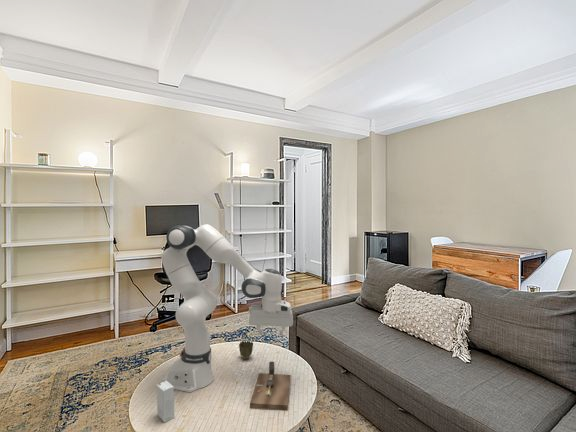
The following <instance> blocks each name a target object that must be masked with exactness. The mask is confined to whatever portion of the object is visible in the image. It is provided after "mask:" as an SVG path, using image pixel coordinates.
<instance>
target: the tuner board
mask: <svg viewBox="0 0 576 432" xmlns="http://www.w3.org/2000/svg"><path fill="white" fill-rule="evenodd" d="M291 375H292V374H281V373H274V374H273V378H272V380H273V387H272V388H270V394H269V395H268V387H267V380H269V378H270V374H269V373H265V372H264V373H263V372H262V373H261V372H259V373H258V375H257V378H256V382H255V386H254V388H253V392H252V395H251V399H250V402H249V408H250V409H257V410H258V409H259V410H260V409H261V410H277V411H278V410H279V411H289V410H288V409H289V398H290V397H289V396H290V392H291V391H290V390H291V389H290V388H291V380H292V378H291V377H292V376H291Z"/></svg>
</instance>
